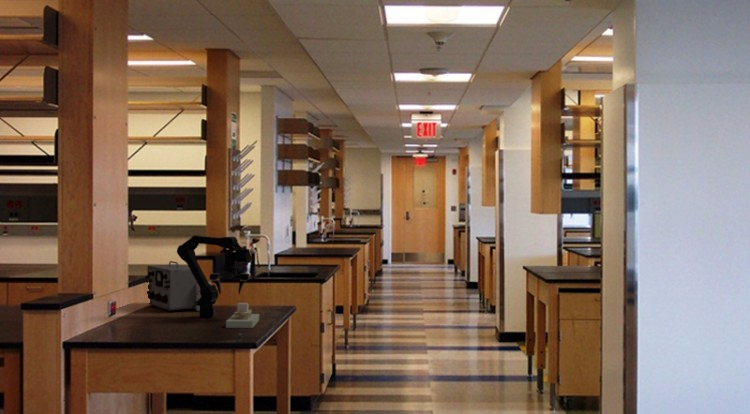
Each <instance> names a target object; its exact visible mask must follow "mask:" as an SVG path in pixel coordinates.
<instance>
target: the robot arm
mask: <svg viewBox="0 0 750 414" xmlns="http://www.w3.org/2000/svg"><path fill="white" fill-rule="evenodd" d="M199 245H210V246H211V245H213V246H218V247H220V248H221V250H220V251H219V253H220V254H223V268H222V271H221V274H220V272H212V273H210V274H209V280H211V281H212V282H214V284H212V285H210V284H209V283H208V282H209V281H208V279H207V278H206V275H205V273H204V272H203V270H202V268H201V266H200V264H199V263H198V261H197V258H196V251H195V250H196V249H197V248H198V247H199ZM176 253H177V255H178V256H179V258H180V259H181V260H182V261H183V262H185V263H186V264H187V265H186V266H188V267H189V268H190V270H191V272H192V274H193V276H194V278H195V279H196V281H197V283H198V285H199V287H200V294H201V298H200V299H199V300H198V301H197V304H198V306H200V312H199V316H198V318H199V319H213V318H214V317H215V316H216V315H215V313H216V311H215V310H216V309H215V307H214V305H215V304H216V301H217V300H218V299H219V297H220V296H219V295H221V294H222V287H221V286H222V283H221V279H223V280H226V279H229V280H231V279H240V280H238V281H239V282H238V283H239V285H238V295H240V294H241V291H242V288H243V286H244V284H245V283H246V282H248V280H250V279H251V278H250V277H251V276H250V273H249V272H246V273H245V272H242V273H240V274H238V270H237V267H236V266H237V263H238V264H239V263H240V264H249V263H250V262H251V260H252V253H251V251H250V248H245V249H243V248H242V247H241V245H240V243H239V242H238V238H237V237H235V236H223V237H222V236H221V237H219V236H218V237H216V236H206V235H199V234H197V235H195V234H194V235H192V236H191V237H190V238H189V239H187V240H185V242H184V243H181V244H180V245H179V246H178V247H177V248H176Z"/></svg>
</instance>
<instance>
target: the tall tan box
mask: <svg viewBox="0 0 750 414" xmlns="http://www.w3.org/2000/svg"><path fill="white" fill-rule="evenodd" d="M252 310H253V309H252V308H251V309H248V311H247V312H237V310H236V311H235V312H233V315H234V319H249V318H250V316H252V314H253V313H252V312H253V311H252Z"/></svg>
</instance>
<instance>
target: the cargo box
mask: <svg viewBox="0 0 750 414" xmlns="http://www.w3.org/2000/svg"><path fill="white" fill-rule="evenodd" d="M249 308H250V307H249V302H238V303H237V309H236V311H237V312H247V311H248V309H249Z"/></svg>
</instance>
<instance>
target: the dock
mask: <svg viewBox="0 0 750 414" xmlns="http://www.w3.org/2000/svg"><path fill="white" fill-rule="evenodd" d="M259 321H260V314H259V313H252V316H250V318H249V319H234V314H232V315H231V316H230V317H229V318H228V319H227V320H225V328H226V329H231V328H232V329H252V328H254V327H255V326H256V324H257V323H258V322H259Z"/></svg>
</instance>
